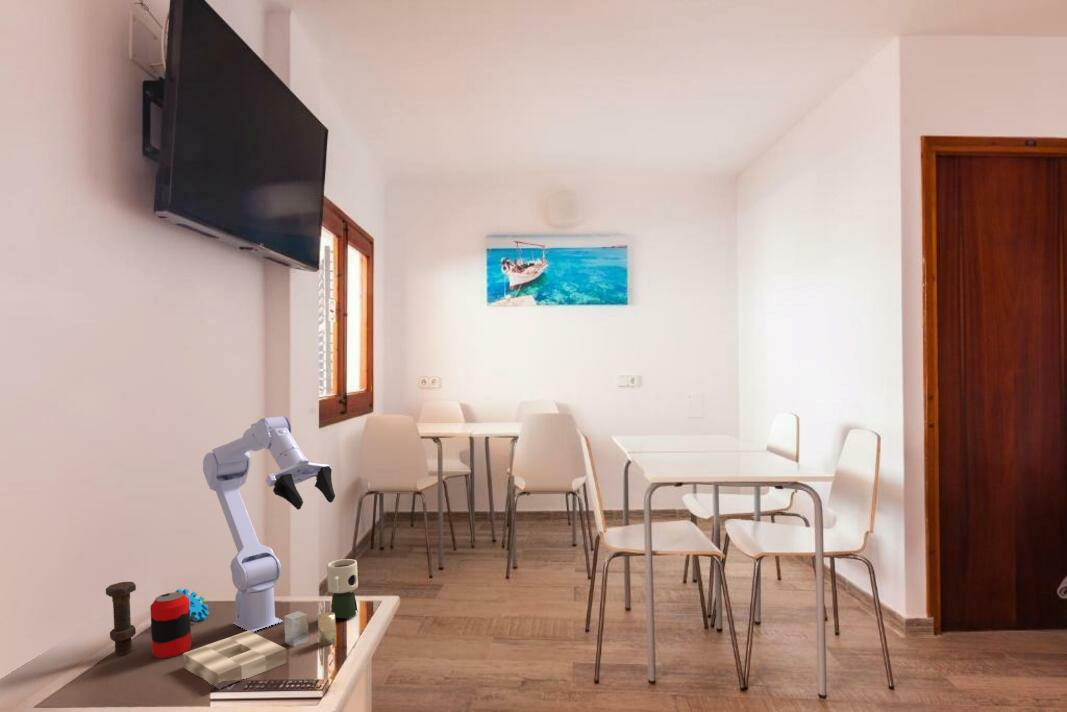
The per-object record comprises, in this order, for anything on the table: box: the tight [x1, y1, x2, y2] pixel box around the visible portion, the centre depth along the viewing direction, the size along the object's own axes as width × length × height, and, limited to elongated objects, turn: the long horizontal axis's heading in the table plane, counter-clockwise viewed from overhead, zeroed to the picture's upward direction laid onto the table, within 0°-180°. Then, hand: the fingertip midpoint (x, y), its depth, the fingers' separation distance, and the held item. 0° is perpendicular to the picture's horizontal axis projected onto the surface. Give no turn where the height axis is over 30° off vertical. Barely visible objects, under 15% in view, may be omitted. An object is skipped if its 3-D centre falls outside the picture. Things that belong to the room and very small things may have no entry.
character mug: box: [326, 558, 359, 620], centre depth 166 cm, size 11×7×13 cm, turn 177°
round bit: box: [317, 611, 337, 647], centre depth 151 cm, size 4×4×6 cm
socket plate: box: [182, 630, 287, 686], centre depth 141 cm, size 16×14×3 cm
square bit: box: [283, 610, 309, 648], centre depth 152 cm, size 4×4×6 cm
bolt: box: [105, 581, 137, 656], centre depth 150 cm, size 6×5×15 cm
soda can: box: [149, 591, 192, 659], centre depth 150 cm, size 8×8×12 cm
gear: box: [175, 588, 210, 622], centre depth 169 cm, size 11×6×10 cm
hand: (316, 502), depth 145 cm, fingers open, 7 cm apart
